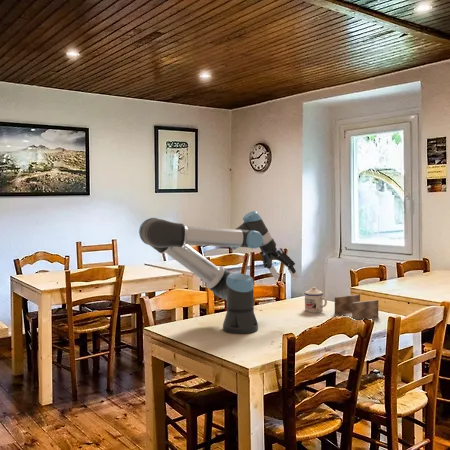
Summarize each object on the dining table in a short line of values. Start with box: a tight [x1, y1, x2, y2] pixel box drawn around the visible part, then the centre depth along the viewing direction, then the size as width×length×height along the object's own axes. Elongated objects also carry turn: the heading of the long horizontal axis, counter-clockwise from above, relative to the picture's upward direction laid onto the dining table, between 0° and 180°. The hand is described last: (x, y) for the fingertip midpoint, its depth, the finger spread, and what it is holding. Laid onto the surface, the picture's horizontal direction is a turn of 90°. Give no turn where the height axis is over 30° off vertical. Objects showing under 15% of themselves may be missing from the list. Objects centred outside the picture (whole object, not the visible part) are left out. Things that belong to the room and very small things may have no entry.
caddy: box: [334, 294, 379, 320], centre depth 254 cm, size 14×15×8 cm
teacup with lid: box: [304, 286, 328, 313], centre depth 264 cm, size 12×9×12 cm
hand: (286, 278), depth 254 cm, fingers open, 13 cm apart
